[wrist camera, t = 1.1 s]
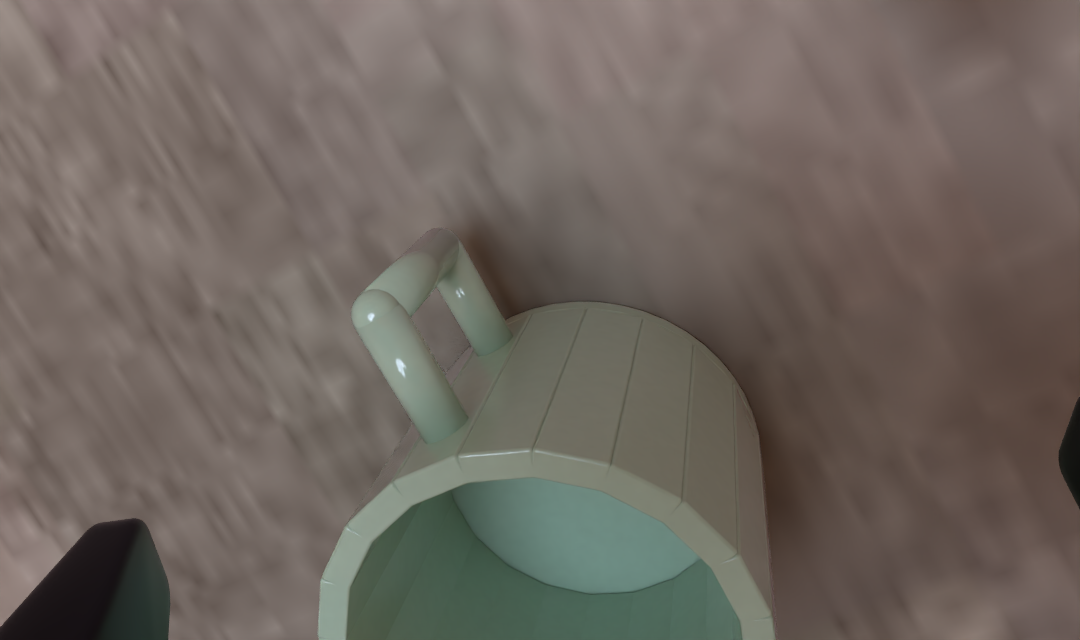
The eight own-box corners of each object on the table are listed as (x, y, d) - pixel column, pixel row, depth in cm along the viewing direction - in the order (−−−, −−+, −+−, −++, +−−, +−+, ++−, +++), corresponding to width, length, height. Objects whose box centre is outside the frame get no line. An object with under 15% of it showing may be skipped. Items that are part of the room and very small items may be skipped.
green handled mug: (817, 535, 25) (856, 773, 18) (527, 635, 28) (458, 877, 21) (609, 127, 23) (555, 210, 15) (310, 282, 25) (142, 415, 18)
